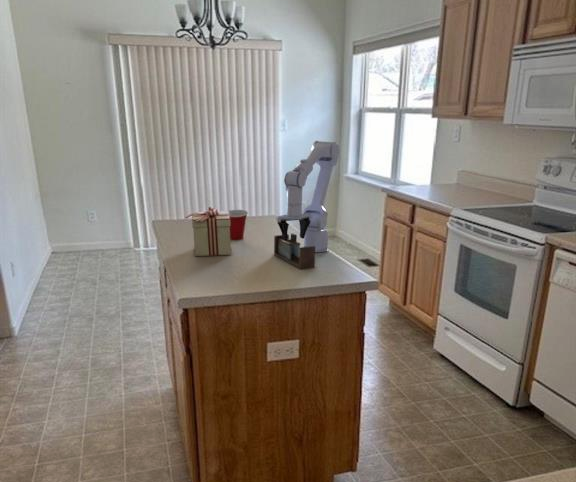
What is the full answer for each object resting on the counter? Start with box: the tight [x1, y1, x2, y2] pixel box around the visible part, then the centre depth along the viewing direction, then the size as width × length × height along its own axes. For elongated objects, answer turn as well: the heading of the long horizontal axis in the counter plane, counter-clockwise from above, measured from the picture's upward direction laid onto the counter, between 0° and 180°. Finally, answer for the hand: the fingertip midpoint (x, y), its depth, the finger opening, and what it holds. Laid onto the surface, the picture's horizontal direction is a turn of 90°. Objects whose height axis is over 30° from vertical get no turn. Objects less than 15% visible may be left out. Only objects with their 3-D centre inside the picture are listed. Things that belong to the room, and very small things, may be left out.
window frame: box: [273, 233, 316, 270], centre depth 206 cm, size 6×22×8 cm, turn 28°
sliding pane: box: [287, 233, 301, 259], centre depth 208 cm, size 1×9×9 cm, turn 28°
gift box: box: [184, 206, 232, 257], centre depth 214 cm, size 17×18×17 cm
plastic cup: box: [227, 209, 249, 241], centre depth 237 cm, size 11×11×12 cm
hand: (293, 238), depth 207 cm, fingers open, 7 cm apart
